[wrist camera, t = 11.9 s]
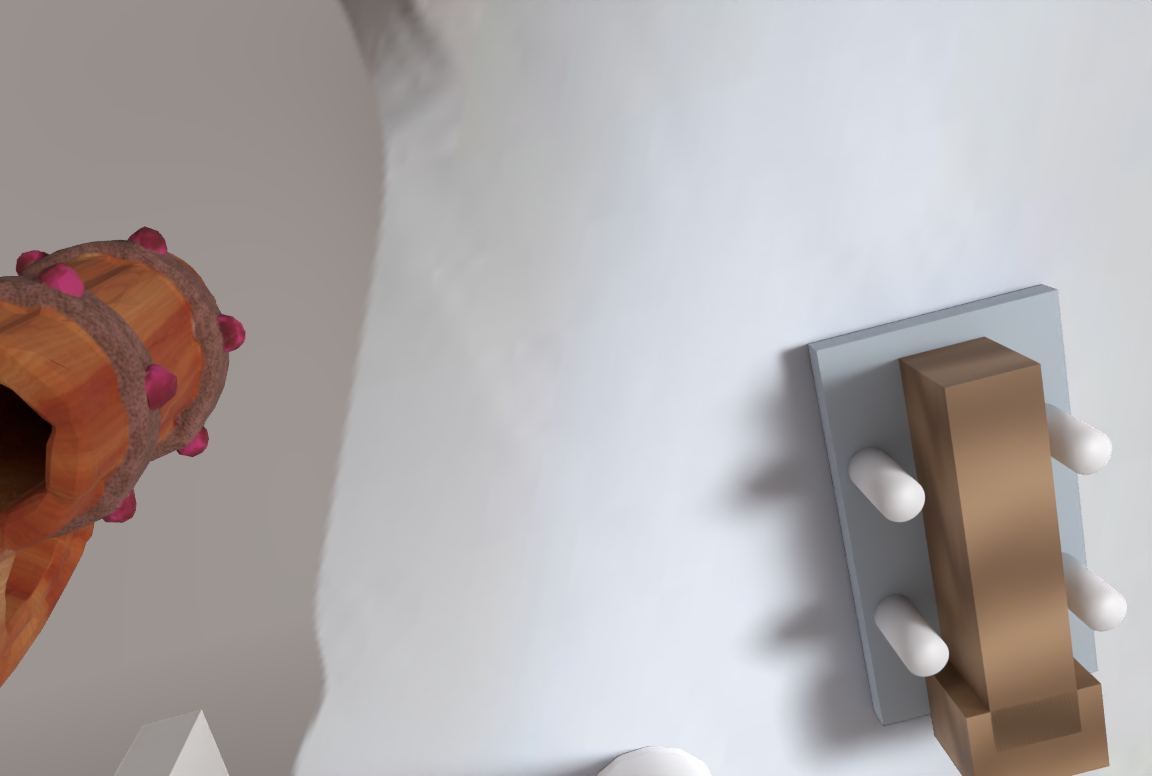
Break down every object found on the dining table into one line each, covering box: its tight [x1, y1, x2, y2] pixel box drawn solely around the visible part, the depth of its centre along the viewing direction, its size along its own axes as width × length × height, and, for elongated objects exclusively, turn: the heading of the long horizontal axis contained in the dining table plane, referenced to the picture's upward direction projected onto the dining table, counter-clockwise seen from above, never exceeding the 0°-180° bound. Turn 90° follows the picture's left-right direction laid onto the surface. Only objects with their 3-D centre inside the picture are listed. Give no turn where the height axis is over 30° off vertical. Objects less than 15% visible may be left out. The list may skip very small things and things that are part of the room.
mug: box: [0, 227, 245, 687], centre depth 33 cm, size 15×8×15 cm, turn 158°
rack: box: [808, 284, 1127, 726], centre depth 42 cm, size 18×10×5 cm, turn 14°
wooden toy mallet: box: [899, 337, 1109, 776], centre depth 41 cm, size 18×6×4 cm, turn 14°
